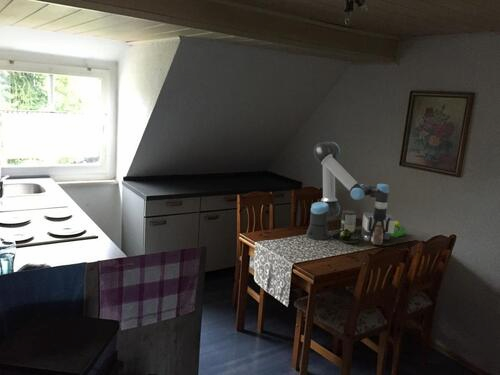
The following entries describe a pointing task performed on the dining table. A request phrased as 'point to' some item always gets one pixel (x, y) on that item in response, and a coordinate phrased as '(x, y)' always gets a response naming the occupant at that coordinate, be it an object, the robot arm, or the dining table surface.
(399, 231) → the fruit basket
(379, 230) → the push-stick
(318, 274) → the dining table surface
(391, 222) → the cabinet
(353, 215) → the clear glass jar
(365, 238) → the steel puck
